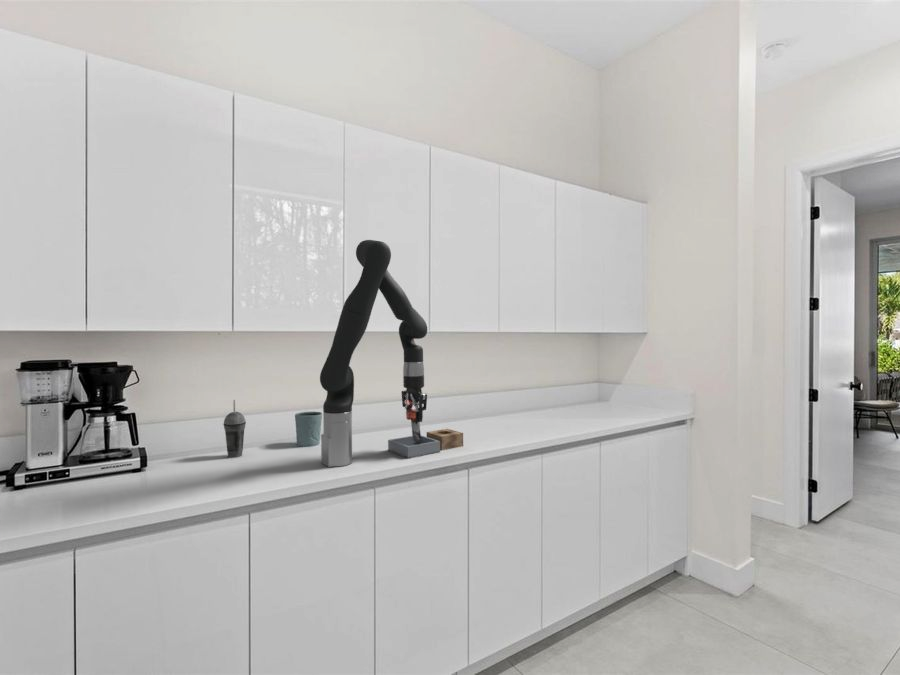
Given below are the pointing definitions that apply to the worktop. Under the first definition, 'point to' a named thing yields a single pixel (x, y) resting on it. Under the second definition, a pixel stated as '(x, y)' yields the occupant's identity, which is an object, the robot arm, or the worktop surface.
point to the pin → (414, 424)
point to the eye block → (447, 438)
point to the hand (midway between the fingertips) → (414, 420)
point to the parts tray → (413, 446)
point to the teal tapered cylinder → (308, 428)
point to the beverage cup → (234, 433)
